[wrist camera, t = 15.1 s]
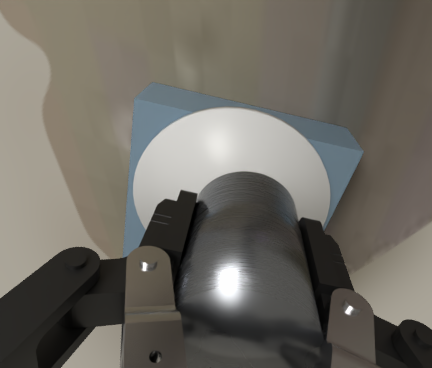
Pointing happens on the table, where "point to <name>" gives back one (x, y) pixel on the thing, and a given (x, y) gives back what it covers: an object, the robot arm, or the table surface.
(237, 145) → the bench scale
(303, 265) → the cylinder
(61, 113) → the table surface
